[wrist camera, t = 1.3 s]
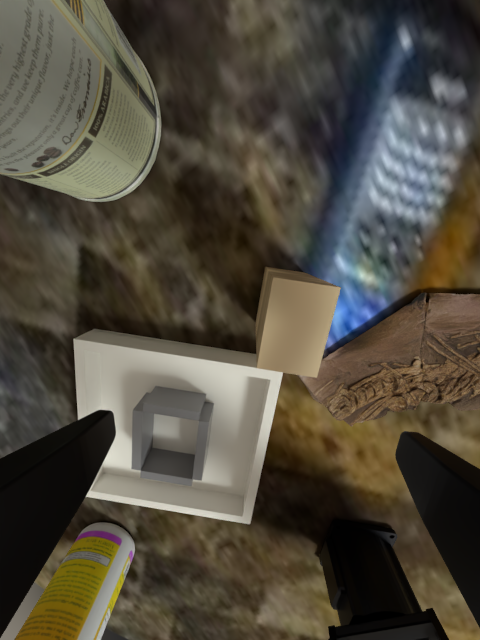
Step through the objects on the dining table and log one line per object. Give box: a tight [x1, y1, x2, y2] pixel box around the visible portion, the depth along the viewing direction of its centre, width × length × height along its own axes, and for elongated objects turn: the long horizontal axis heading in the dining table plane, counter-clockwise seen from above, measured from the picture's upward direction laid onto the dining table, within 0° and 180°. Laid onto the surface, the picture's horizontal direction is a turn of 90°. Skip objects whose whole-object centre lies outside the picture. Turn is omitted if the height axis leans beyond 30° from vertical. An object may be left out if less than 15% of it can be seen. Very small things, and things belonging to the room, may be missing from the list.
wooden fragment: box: [297, 293, 480, 426], centre depth 19 cm, size 26×11×1 cm, turn 103°
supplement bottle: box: [15, 522, 135, 640], centre depth 22 cm, size 7×7×13 cm
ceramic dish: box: [73, 329, 283, 524], centre depth 21 cm, size 16×16×3 cm
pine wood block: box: [256, 267, 341, 378], centre depth 15 cm, size 3×4×8 cm, turn 172°
